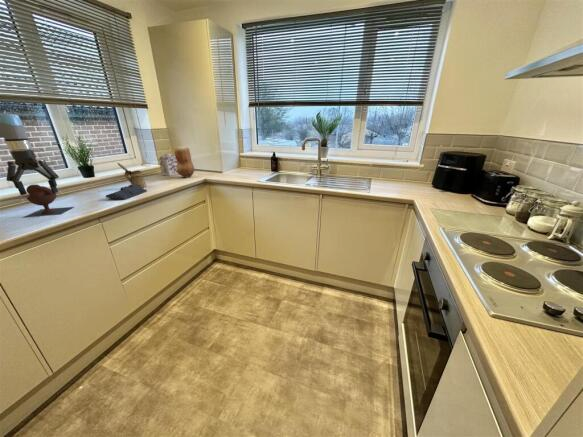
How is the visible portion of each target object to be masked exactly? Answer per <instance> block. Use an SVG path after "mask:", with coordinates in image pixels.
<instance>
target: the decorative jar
mask: <svg viewBox="0 0 583 437" xmlns="http://www.w3.org/2000/svg"><path fill="white" fill-rule="evenodd" d="M158 162H159V166H160V171H161V175H162V176H167V177H171V176H177V175H179V174H178V172H177V160H176V157H175V154H171V153H169V152H167V153H164V155H161V156H160V157H159V158H158Z"/></svg>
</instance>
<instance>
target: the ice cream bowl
mask: <svg viewBox="0 0 583 437" xmlns="http://www.w3.org/2000/svg"><path fill="white" fill-rule="evenodd" d="M25 190H26V192H27V194H28V195H27V196H25V198H26V200H27V201H29V202H30V203H31V204H33V205H36V206H42V207H43V209H45V210H44V211H43V212H41V214H49V213H53V212H55V210H53V209H51V208H50V204H52V203H53V202H54V201H55V200H56V199H57V193H52V190H51V188H50V187H47V186H44V185H39V184H36V183H35V184H30V185H28V186H27V187H26V188H25Z"/></svg>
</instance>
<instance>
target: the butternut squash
mask: <svg viewBox="0 0 583 437" xmlns="http://www.w3.org/2000/svg"><path fill="white" fill-rule="evenodd" d="M173 151H174V155H175V157H176V160H177V172H178V175H179V176H181V177H183V178H190V177H192V176H193V175H194V173H195V166H194V164H193V161H192V155H191V152H190V148H189V147H188V146H187V145H181V146H177V147H175V148H174V150H173Z"/></svg>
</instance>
